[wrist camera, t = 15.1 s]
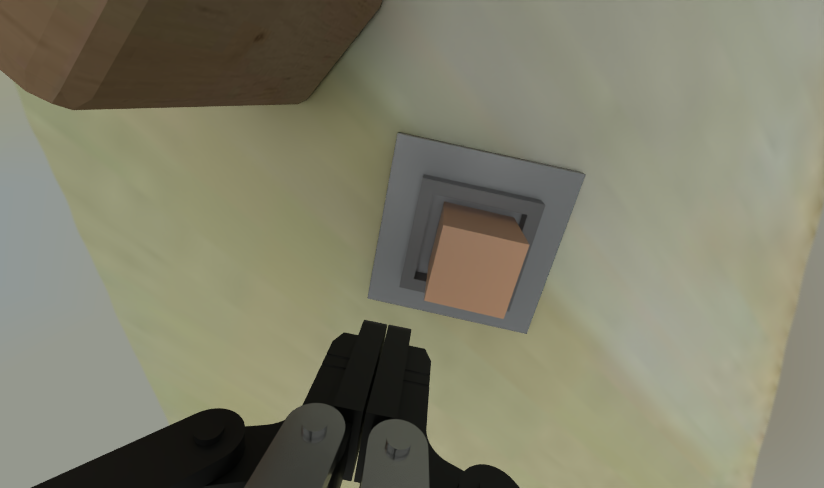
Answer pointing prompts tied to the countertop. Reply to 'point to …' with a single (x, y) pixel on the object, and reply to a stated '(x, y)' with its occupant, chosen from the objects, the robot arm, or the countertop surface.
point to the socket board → (477, 188)
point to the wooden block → (175, 50)
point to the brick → (475, 260)
